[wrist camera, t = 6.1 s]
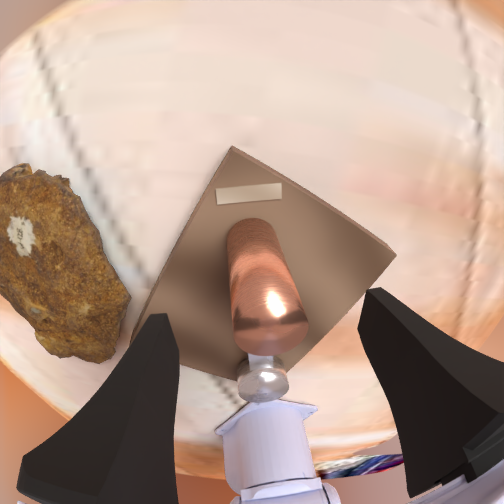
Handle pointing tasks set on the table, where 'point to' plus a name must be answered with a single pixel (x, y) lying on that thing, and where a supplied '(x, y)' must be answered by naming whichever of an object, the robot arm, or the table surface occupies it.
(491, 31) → the table surface
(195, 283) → the board
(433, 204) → the table surface
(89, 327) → the decorative rock
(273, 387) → the lever
